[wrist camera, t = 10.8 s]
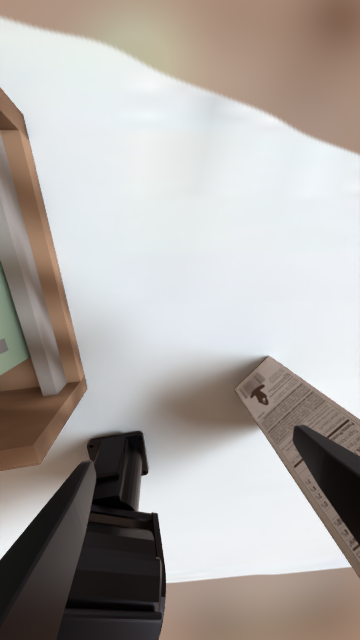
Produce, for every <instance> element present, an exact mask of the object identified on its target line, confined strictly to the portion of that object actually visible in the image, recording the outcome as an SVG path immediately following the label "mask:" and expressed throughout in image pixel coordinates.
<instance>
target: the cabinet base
mask: <svg viewBox="0 0 360 640" xmlns="http://www.w3.org/2000/svg"><path fill="white" fill-rule="evenodd" d="M0 260H1V263H2V266H3V270H4V273H5V276H6V279H7V282H8V286H9V289H10V292H11V295H12V298H13V302H14V305H15V308H16V311H17V314H18V317H19V321H20V324H21V327H22V330H23V333H24V337H25V340H26V343H27V346H28V349H29V353H30V356H31V357H29V358H28V359H26V360H24V361H23V362H21V363H20V364H18V365H16V366H15V367H13V368H12V369H10V370H8V371H7V372H5V373H4V374H2V375H0V471H3V470H9V469H15V468H21V467H27V466H33V465H38V464H40V463H41V462H42V460H43V458H44V457H45V455H46V454H47V452H48V451H49V449H50V447H51V446H52V444H53V443H54V441H55V439H56V438H57V436H58V435H59V433H60V431H61V430H62V428H63V427H64V425H65V424H66V422H67V420H68V419H69V417H70V416H71V414H72V412H73V411H74V409H75V408H76V406H77V405H78V403H79V401H80V400H81V398H82V397H83V395H84V393H85V392H86V390H87V385H86V380H85V376H84V372H83V368H82V363H81V359H80V355H79V351H78V346H77V342H76V338H75V333H74V329H73V325H72V321H71V316H70V312H69V308H68V304H67V299H66V295H65V291H64V287H63V282H62V278H61V274H60V270H59V265H58V261H57V257H56V253H55V248H54V244H53V240H52V236H51V231H50V227H49V223H48V219H47V214H46V210H45V206H44V202H43V197H42V193H41V189H40V185H39V180H38V176H37V172H36V168H35V163H34V159H33V155H32V151H31V146H30V142H29V138H28V134H27V129H26V125H25V121H24V117H23V114H22V113H21V112H20V110H19V109H18V108H17V107H16V106H15V104H14V103H13V102H12V101H11V100H10V99H9V97H8V96H7V95H6V94H5V93H4V91H3V90H2V89H1V88H0Z"/></svg>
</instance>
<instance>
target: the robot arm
mask: <svg viewBox="0 0 360 640" xmlns="http://www.w3.org/2000/svg"><path fill="white" fill-rule="evenodd" d="M292 440H293V444H294V446H295V447H296V449H297V451H298V453H299V454H300V456H301V458H302V459H303V461H304V463H305V464H306V466H307V468H308V469H309V471H310V473H311V475H312V476H313V478H314V480H315V481H316V483H317V484H318V486H319V488H320V489H321V491H322V492H323V493H324V495H325V496H326V498H327V499H328V501H329V502H330V504H331V505H332V507H333V508H334V509H335V511H336V512H337V514H338V515H339V517H340V518H341V520H342V521H343V522H344V524H345V525H346V527H347V528H348V530H349V531H350V533H351V534H352V536H353V537H354V538H355V540H356V541H357V543H358V544H359V546H360V456H359V455H357V454H355V453H354V452H352V451H350V450H348V449H347V448H345V447H343V446H341V445H339V444H338V443H336V442H334V441H332V440H331V439H329V438H327V437H325V436H324V435H322V434H320V433H318V432H317V431H315V430H313V429H311V428H310V427H308V426H306V425H304V424H300V425H295V426H294V429H293V438H292ZM91 444H92V445H91ZM87 449H88V453H89V457H90V460H89V461H83V462H81V463H80V464H79V465H78V466H77V468H76V469H75V470H74V471H73V472H72V474H71V475H70V476H69V477H68V478H67V480H66V481H65V482H64V483H63V484H62V486H61V487H60V488H59V489H58V491H57V492H56V493H55V494H54V495H53V497H52V498H51V499H50V500H49V501H48V503H47V504H46V505H45V506H44V508H43V509H42V510H41V511H40V512H39V514H38V515H37V516H36V517H35V518H34V520H33V521H32V522H31V523H30V525H29V526H28V527H27V528H26V529H25V531H24V532H23V533H22V534H21V535H20V537H19V538H18V539H17V540H16V541H15V543H14V544H13V545H12V546H11V548H10V549H9V550H8V551H7V552H6V554H5V555H4V556H3V557H2V558H1V560H0V640H158V639H159V635H160V632H161V627H162V623H163V616H164V609H165V597H166V596H165V594H166V573H165V564H164V557H163V550H162V542H161V535H160V528H159V521H158V514H157V513H153V512H152V513H151V514H150V513H144V512H138V507H139V496H140V484H141V476H143V475H147V474H148V462H147V456H146V449H145V443H144V436H143V433H141V432H137V433H131V434H124V435H118V436H112V437H106V438H100V439H93V440H90V441H89V442H88V444H87Z"/></svg>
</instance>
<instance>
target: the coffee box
mask: <svg viewBox="0 0 360 640" xmlns="http://www.w3.org/2000/svg"><path fill="white" fill-rule="evenodd" d="M235 392H236V393H237V394H238V396H239V397H240V399H241V400H242V402H243V404H244V405H245V407H246V408H247V409H248V411H249V412H250V414H251V415H252V417H253V418H254V420H255V421H256V423H257V424H258V426H259V427H260V429H261V430H262V432H263V433H264V435H265V436H266V438H267V439H268V441H269V442H270V444H271V445H272V447H273V448H274V450H275V451H276V453H277V454H278V456H279V458H280V459H281V461H282V462H283V464H284V465H285V467H286V468H287V470H288V471H289V473H290V474H291V476H292V477H293V479H294V480H295V482H296V483H297V485H298V486H299V488H300V489H301V491H302V492H303V494H304V496H305V497H306V499H307V500H308V502H309V503H310V505H311V506H312V508H313V509H314V511H315V512H316V514H317V515H318V517H319V518H320V520H321V521H322V522H323V524H324V526H325V527H326V529H327V530H328V532H329V533H330V535H331V536H332V538H333V539H334V541H335V542H336V544H337V545H338V547H339V548H340V550H341V551H342V553H343V554H344V556H345V557H346V559H347V560H348V562H349V563H350V565H351V566H352V568H353V569H354V571H355V572H356V574H357V575H358V577H359V578H360V546H359V544H358V543H357V541H356V540H355V538H354V537H353V536H352V534H351V533H350V531H349V530H348V528H347V527H346V525H345V524H344V522H343V521H342V520H341V518H340V517H339V515H338V514H337V512H336V511H335V509H334V508H333V507H332V505H331V504H330V502H329V501H328V499H327V498H326V496H325V495H324V493H323V492H322V491H321V489H320V488H319V486H318V484H317V483H316V481H315V480H314V478H313V476H312V475H311V473H310V471H309V469H308V468H307V466H306V464H305V463H304V461H303V459H302V458H301V456H300V454H299V453H298V451H297V449H296V447H295V446H294V444H293V440H292V438H293V429H294V426H295V425H300V424H304V425H306V426H308V427H310V428H311V429H313V430H315V431H317V432H318V433H320V434H322V435H324V436H325V437H327V438H329V439H331V440H332V441H334V442H336V443H338V444H339V445H341V446H343V447H345V448H347V449H348V450H350V451H352V452H354V453H355V454H357V455H359V456H360V419H358V418H357V417H355V416H354V415H353V414H351V413H350V412H348V411H347V410H345V409H344V408H343V407H341V406H340V405H338V404H337V403H336V402H334V401H333V400H331V399H330V398H328V397H327V396H326V395H324V394H323V393H321V392H320V391H319V390H317V389H316V388H314V387H313V386H312V385H310V384H309V383H307V382H306V381H304V380H303V379H302V378H300V377H299V376H297V375H296V374H294V373H293V372H292V371H290V370H289V369H288V368H286V367H285V366H283V365H282V364H280V363H279V362H277V361H276V360H275V359H273V358H272V357H270V356H269V357H267V358H266V359H265V360H264V361H263V362H262V363H261V364H260V365H259V366H258V367H257V368H256V369H255V370H254V371H253V372H252V373H251V374H250V375H248V376H247V377H246V378H245V379H244V380H243V381H242V382H241V383H240V384H239V385H238V386H237V387H236V388H235Z"/></svg>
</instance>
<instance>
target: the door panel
mask: <svg viewBox="0 0 360 640" xmlns="http://www.w3.org/2000/svg"><path fill="white" fill-rule="evenodd" d="M29 357H31V356H30V353H29V349H28V346H27V343H26V340H25V337H24V333H23V330H22V327H21V324H20V321H19V317H18V314H17V311H16V308H15V305H14V302H13V298H12V295H11V292H10V289H9V286H8V282H7V279H6V276H5V273H4V270H3V266H2V263H1V260H0V375H2V374H4V373H5V372H7V371H8V370H10V369H12V368H13V367H15V366H16V365H18V364H20V363H21V362H23V361H24V360H26V359H28V358H29Z"/></svg>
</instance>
